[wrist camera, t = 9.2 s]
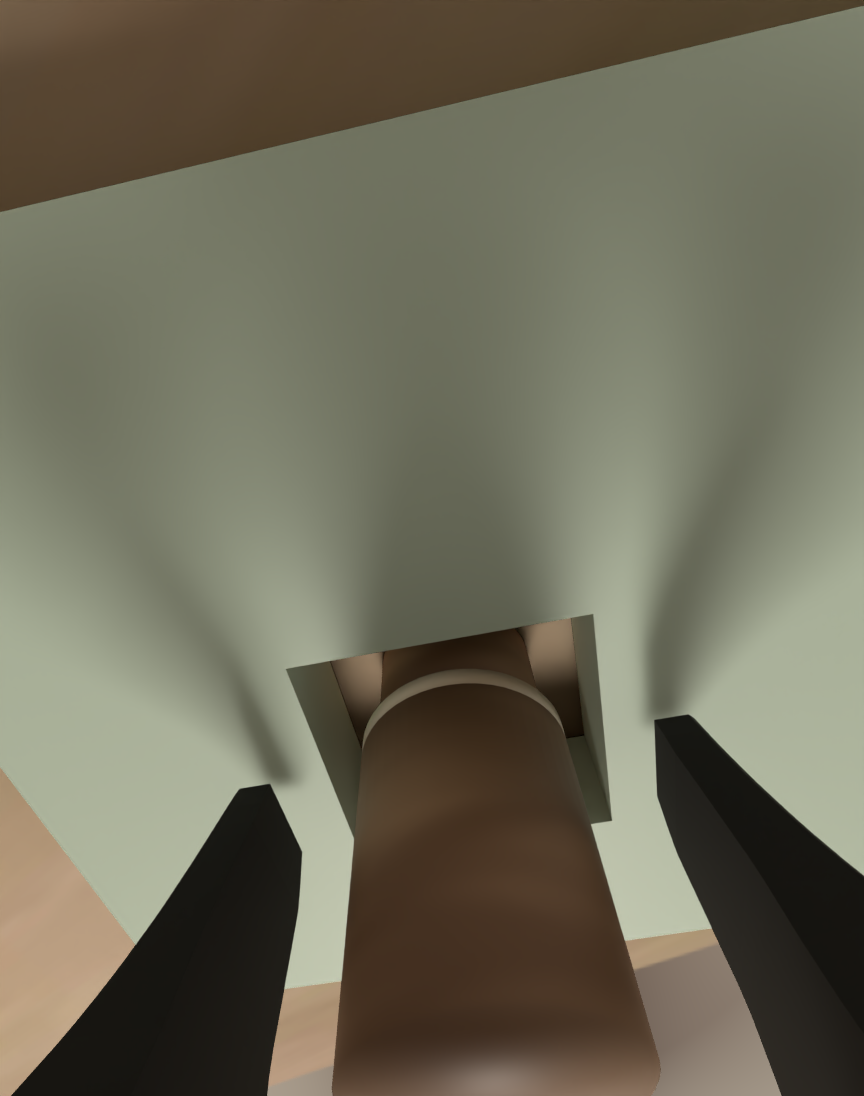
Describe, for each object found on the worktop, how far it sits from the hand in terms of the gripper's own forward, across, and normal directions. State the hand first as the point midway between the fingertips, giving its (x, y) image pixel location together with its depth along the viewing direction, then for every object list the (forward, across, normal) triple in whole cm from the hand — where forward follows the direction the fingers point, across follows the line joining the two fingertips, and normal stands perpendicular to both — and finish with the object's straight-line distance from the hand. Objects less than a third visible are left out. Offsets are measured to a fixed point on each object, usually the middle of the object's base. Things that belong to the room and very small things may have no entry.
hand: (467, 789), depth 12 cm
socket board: (+3, -1, -2) cm, 4 cm away
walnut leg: (+3, 0, 0) cm, 3 cm away
